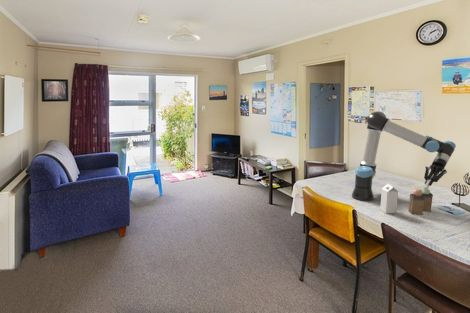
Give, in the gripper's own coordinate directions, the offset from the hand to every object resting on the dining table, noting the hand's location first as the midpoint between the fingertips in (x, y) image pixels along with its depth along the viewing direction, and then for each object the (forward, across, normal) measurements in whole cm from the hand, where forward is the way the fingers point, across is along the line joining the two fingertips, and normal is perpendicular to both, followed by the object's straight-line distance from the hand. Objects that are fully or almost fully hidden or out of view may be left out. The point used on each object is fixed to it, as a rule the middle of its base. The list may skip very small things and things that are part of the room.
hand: (425, 188), depth 191 cm
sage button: (+3, 0, -4) cm, 5 cm away
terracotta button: (+9, 0, +4) cm, 10 cm away
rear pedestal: (+10, 0, -11) cm, 15 cm away
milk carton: (+26, +12, +4) cm, 28 cm away
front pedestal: (+17, 0, -4) cm, 17 cm away
